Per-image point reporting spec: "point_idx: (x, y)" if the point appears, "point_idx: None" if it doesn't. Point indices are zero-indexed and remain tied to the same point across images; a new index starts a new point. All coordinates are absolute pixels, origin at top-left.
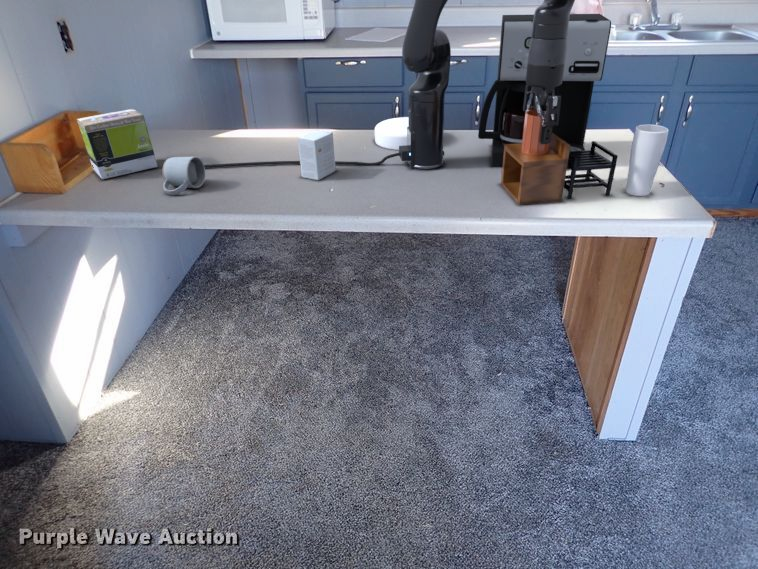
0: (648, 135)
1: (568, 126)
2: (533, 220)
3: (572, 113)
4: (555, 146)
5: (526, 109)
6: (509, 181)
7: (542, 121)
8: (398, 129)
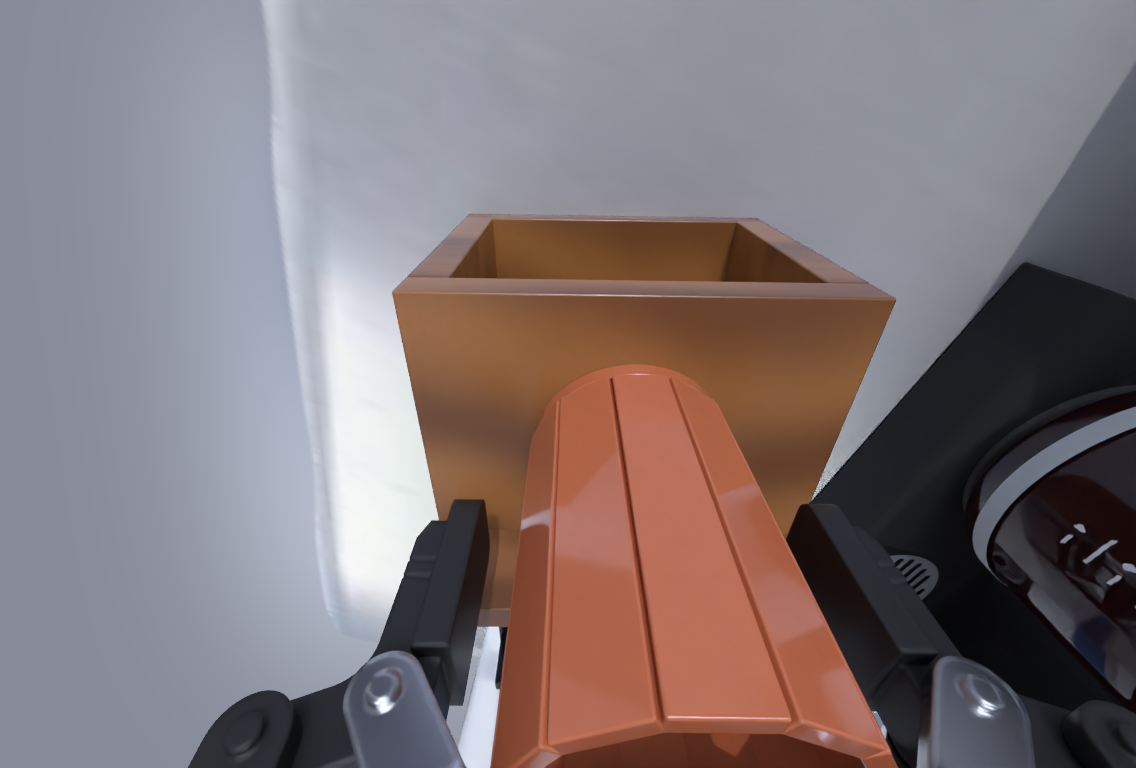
0: None
1: (1016, 681)
2: (284, 214)
3: None
4: None
5: (1073, 747)
6: (730, 262)
7: (387, 726)
8: None
